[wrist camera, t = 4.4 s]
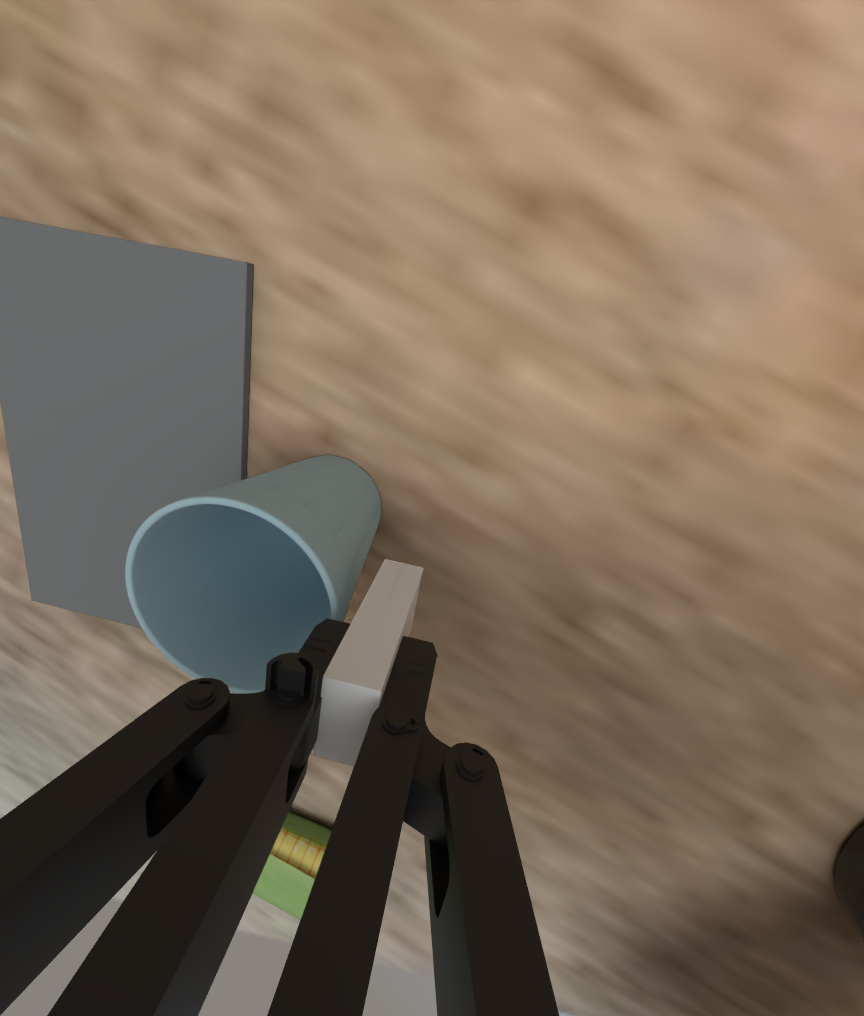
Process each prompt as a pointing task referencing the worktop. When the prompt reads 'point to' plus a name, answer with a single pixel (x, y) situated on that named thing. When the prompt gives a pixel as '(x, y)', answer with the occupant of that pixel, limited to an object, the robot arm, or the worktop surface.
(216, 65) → the worktop surface
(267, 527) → the cup
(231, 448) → the mat
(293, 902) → the edible corn
